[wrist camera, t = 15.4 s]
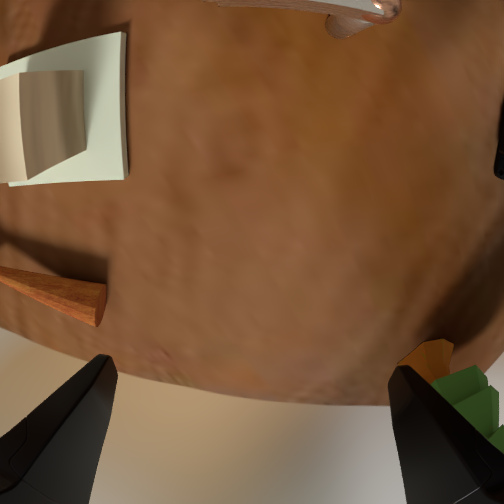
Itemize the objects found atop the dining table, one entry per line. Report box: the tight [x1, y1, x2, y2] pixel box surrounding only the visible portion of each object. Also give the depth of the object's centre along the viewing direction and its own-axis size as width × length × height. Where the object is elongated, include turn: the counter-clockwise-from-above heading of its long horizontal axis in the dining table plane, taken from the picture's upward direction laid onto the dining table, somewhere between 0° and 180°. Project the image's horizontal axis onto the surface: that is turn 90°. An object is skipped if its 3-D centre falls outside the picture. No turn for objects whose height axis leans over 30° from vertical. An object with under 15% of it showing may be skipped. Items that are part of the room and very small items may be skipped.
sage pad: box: [0, 32, 129, 186], centre depth 15 cm, size 10×9×1 cm
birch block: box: [0, 70, 87, 183], centre depth 12 cm, size 5×5×6 cm
